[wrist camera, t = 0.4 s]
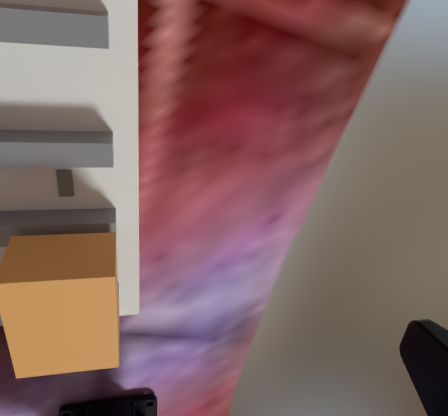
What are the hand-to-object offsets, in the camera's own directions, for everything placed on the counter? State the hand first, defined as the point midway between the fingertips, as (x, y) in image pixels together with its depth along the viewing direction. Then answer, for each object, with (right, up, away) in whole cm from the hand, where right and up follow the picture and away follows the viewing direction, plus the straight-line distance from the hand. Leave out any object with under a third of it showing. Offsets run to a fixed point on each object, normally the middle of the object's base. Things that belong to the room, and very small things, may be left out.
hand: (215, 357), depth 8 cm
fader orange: (-7, +1, +11) cm, 13 cm away
